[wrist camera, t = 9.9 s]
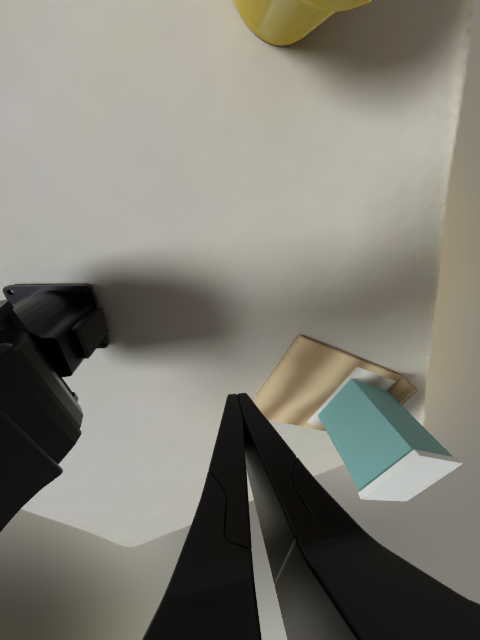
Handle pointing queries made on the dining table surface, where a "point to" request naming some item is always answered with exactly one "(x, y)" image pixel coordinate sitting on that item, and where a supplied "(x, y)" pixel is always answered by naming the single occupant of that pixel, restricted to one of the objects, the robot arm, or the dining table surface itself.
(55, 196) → the dining table surface
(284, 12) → the plant pot
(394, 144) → the dining table surface
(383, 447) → the tin
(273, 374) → the plinth board
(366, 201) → the dining table surface
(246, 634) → the robot arm
